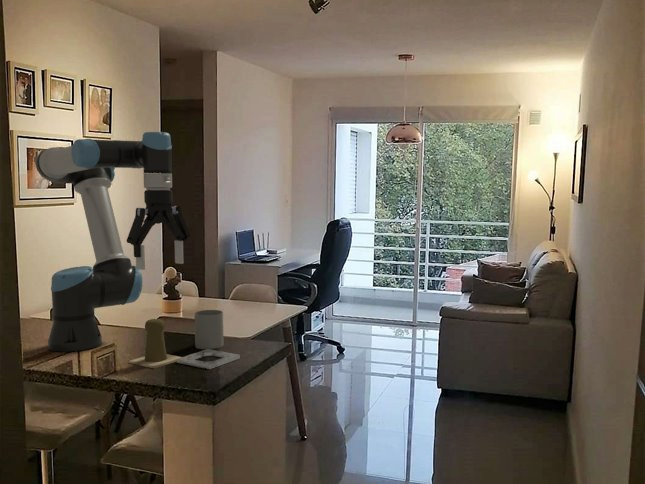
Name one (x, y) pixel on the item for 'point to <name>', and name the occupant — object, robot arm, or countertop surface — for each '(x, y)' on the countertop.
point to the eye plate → (210, 364)
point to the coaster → (154, 365)
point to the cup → (209, 329)
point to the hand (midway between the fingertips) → (160, 266)
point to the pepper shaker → (155, 341)
